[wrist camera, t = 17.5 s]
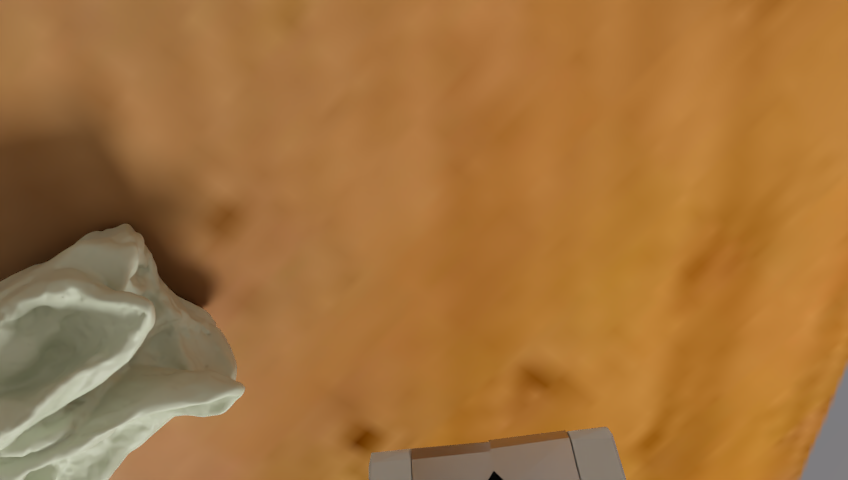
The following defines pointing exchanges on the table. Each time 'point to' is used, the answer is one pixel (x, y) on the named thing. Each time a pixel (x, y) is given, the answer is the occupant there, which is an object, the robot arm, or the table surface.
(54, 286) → the folded clay sculpture
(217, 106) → the table surface
